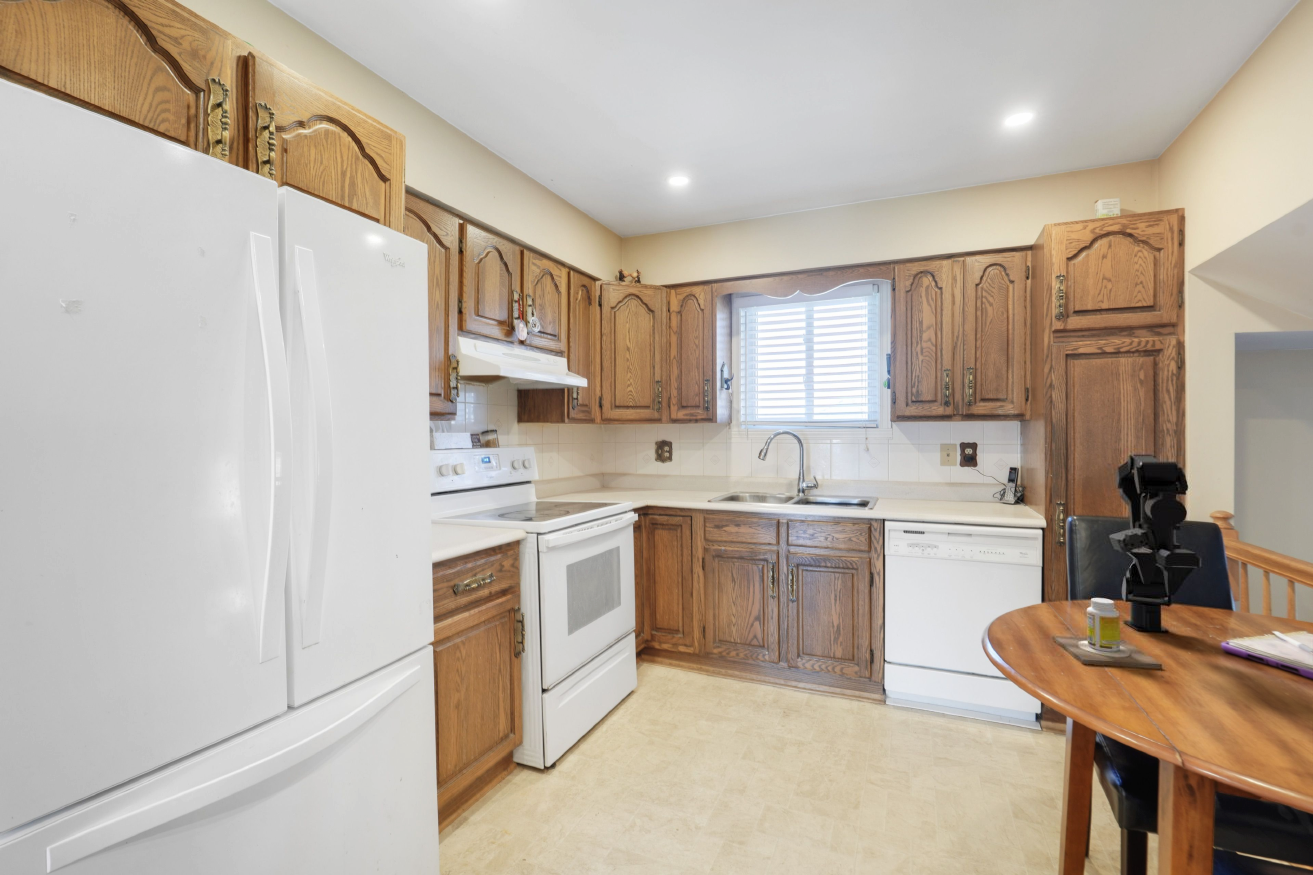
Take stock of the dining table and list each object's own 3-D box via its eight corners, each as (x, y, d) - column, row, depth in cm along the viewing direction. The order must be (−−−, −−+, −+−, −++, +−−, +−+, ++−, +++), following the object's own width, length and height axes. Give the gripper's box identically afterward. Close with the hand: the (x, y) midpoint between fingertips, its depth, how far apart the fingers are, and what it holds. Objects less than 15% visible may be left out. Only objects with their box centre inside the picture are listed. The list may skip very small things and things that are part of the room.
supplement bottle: (1125, 649, 124) (1124, 601, 124) (1110, 654, 122) (1109, 605, 122) (1096, 641, 129) (1095, 595, 129) (1081, 645, 127) (1080, 598, 127)
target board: (1052, 640, 134) (1052, 634, 134) (1123, 643, 131) (1123, 638, 131) (1082, 663, 120) (1082, 658, 120) (1161, 669, 117) (1161, 663, 117)
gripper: (1094, 511, 139) (1095, 576, 139) (1138, 525, 121) (1138, 600, 121) (1150, 512, 136) (1150, 578, 136) (1202, 526, 118) (1203, 603, 118)
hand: (1158, 589), depth 128 cm, fingers open, 9 cm apart
